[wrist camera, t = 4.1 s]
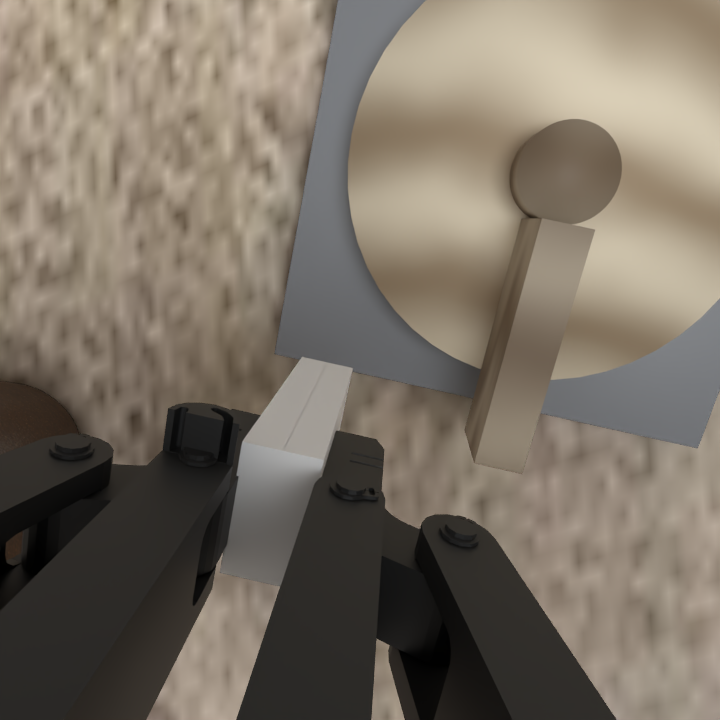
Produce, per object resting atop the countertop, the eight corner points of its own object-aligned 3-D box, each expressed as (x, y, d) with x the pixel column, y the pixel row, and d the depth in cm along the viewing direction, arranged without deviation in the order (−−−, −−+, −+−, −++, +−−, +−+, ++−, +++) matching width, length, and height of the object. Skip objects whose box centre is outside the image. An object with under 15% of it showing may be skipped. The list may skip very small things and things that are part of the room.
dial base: (683, 437, 31) (717, 464, 28) (280, 348, 32) (265, 363, 28) (851, -20, 26) (917, -56, 23) (365, -118, 27) (359, -168, 23)
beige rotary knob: (654, 459, 30) (715, 517, 24) (307, 382, 30) (284, 420, 24) (816, 6, 25) (942, -60, 19) (398, -79, 25) (396, -170, 19)
